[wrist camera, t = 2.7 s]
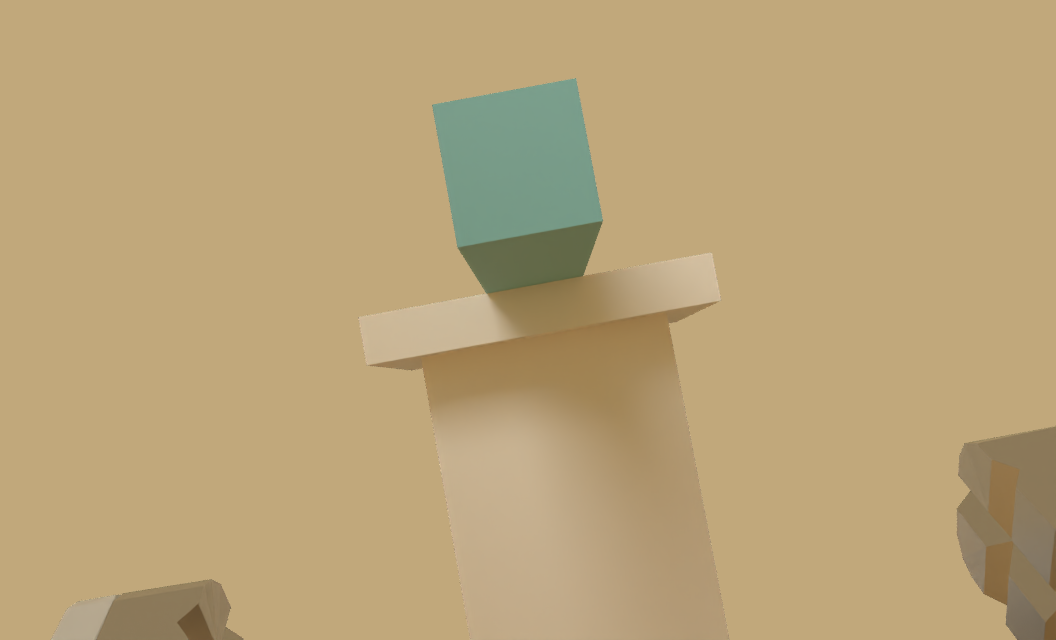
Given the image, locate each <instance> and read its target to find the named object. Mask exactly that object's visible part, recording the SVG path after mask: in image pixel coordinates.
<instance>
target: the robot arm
mask: <svg viewBox="0 0 1056 640" xmlns="http://www.w3.org/2000/svg"><path fill="white" fill-rule="evenodd" d="M958 475H959V477H960V478H961V479H962V480H963V482H964V483H965V484H966V485H967V486H968V488H969V489H970V490H971V491H970V492H969V494H968V495H967V496H966V497H965V499H964V500H963V501H962V503H961V504H960V505H959V507H958V508H957V536H958V540H959V544H960V548H961V552H962V556H963V560H964V561H965V563H966V566H967V568H968V570H969V572H970V574H971V576H972V578H973V579H974V581H975V582H976V583H977V585H978V586H979V588H980V589H981V591H982V592H983V594H985V595H987V596H989V597H992V598H993V599H995V600H997V601H999V602H1001V603H1004V604H1006V605H1007V614H1006V625H1007V627H1008V628H1009V629H1010V631H1011V632H1012V633H1013V635H1014V636H1015V637H1016V639H1017V640H1056V426H1055V427H1050V428H1044V429H1039V430H1033V431H1028V432H1023V433H1018V434H1012V435H1007V436H1001V437H996V438H991V439H986V440H980V441H975V442H969V443H964V446H963V448H962V451H961V453H960V456H959V472H958ZM230 609H231V607H230V604H229V602H228V600H227V597H226V595H225V593H224V591H223V589H222V586H221V584H220V583H218V582H216V581H214V580H204V581H198V582H192V583H186V584H180V585H173V586H167V587H160V588H154V589H148V590H142V591H135V592H129V593H123V594H122V595H113V596H107V597H101V598H95V599H89V600H84V601H78V602H76V603H75V604H74V605H72V606H70V607H69V608H68V609H67V610H66V611H65V613H64V615H63V617H62V619H61V621H60V623H59V625H58V627H57V629H56V631H55V633H54V635H53V637H52V639H51V640H243V638H242V637H240V636H239V635H237V634H236V633H234V632H233V631H231V630H230V629H228V628H226V623H227V620H228V616H229V612H230Z"/></svg>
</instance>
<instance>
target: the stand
mask: <svg viewBox="0 0 1056 640" xmlns="http://www.w3.org/2000/svg"><path fill="white" fill-rule="evenodd" d="M719 301H721V297H720V292H719V287H718V283H717V277H716V272H715V267H714V262H713V257H712V253H706V254H701V255H695V256H690V257H685V258H679V259H674V260H668V261H663V262H657V263H652V264H647V265H641V266H636V267H630V268H624V269H620V270H614V271H608V272H603V273H597V274H592V275H586V276H581V277H575V278H570V279H564V280H559V281H553V282H548V283H542V284H537V285H532V286H526V287H521V288H515V289H510V290H504V291H499V292H493V293H488V294H482V295H477V296H472V297H466V298H460V299H455V300H450V301H444V302H439V303H433V304H428V305H422V306H417V307H412V308H406V309H400V310H396V311H389V312H384V313H378V314H373V315H367V316H362V317H359V324H360V329H361V335H362V341H363V347H364V353H365V359H366V364H367V365H368V366H378V367H386V368H396V369H404V370H415V369H421V368H423V372H424V378H425V383H426V389H427V394H428V400H429V406H430V412H431V418H432V423H433V429H434V435H435V441H436V446H437V451H438V458H439V464H440V469H441V475H442V480H443V486H444V492H445V498H446V503H447V510H448V515H449V521H450V526H451V532H452V538H453V543H454V550H455V555H456V561H457V567H458V573H459V578H460V584H461V590H462V595H463V601H464V607H465V612H466V619H467V624H468V630H469V636H470V640H729V635H728V630H727V624H726V619H725V614H724V609H723V604H722V599H721V593H720V589H719V583H718V578H717V573H716V567H715V563H714V557H713V552H712V547H711V541H710V536H709V531H708V526H707V521H706V516H705V510H704V505H703V500H702V496H701V489H700V484H699V479H698V474H697V469H696V464H695V458H694V454H693V448H692V443H691V438H690V432H689V427H688V422H687V417H686V412H685V406H684V401H683V396H682V391H681V386H680V381H679V375H678V370H677V365H676V360H675V355H674V350H673V344H672V339H671V334H670V328H669V323H673V322H677V321H679V320H681V319H683V318H686V317H688V316H690V315H692V314H694V313H696V312H698V311H700V310H702V309H705V308H706V307H709V306H711V305H713V304H715V303H717V302H719Z"/></svg>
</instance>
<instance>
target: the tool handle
mask: <svg viewBox="0 0 1056 640" xmlns="http://www.w3.org/2000/svg"><path fill="white" fill-rule="evenodd" d="M432 106H433V112H434V118H435V124H436V129H437V135H438V140H439V146H440V152H441V157H442V163H443V168H444V174H445V180H446V185H447V191H448V196H449V202H450V207H451V213H452V219H453V224H454V230H455V236H456V241H457V247H458V249H459V250H460V252H461V254H462V255H463V257H464V258H465V260H466V262H467V263H468V265H469V266H470V268H471V269H472V271H473V273H474V274H475V276H476V277H477V279H478V281H479V282H480V284H481V285H482V287H483V289H484V290H485V292H486V293H487V294H488V293H493V292H499V291H504V290H510V289H515V288H521V287H526V286H532V285H537V284H542V283H548V282H553V281H559V280H564V279H570V278H575V277H581V276H583V275H584V272H585V269H586V266H587V263H588V261H589V258H590V255H591V252H592V250H593V247H594V244H595V241H596V239H597V236H598V233H599V230H600V227H601V225H602V221H603V219H602V214H601V208H600V203H599V198H598V192H597V187H596V182H595V176H594V171H593V166H592V161H591V155H590V150H589V145H588V140H587V134H586V129H585V124H584V118H583V114H582V108H581V103H580V98H579V92H578V87H577V81H576V78H575V79H570V80H565V81H559V82H554V83H548V84H543V85H537V86H532V87H526V88H521V89H516V90H510V91H505V92H499V93H494V94H488V95H483V96H478V97H472V98H466V99H461V100H455V101H450V102H444V103H439V104H434V105H432Z"/></svg>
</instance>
